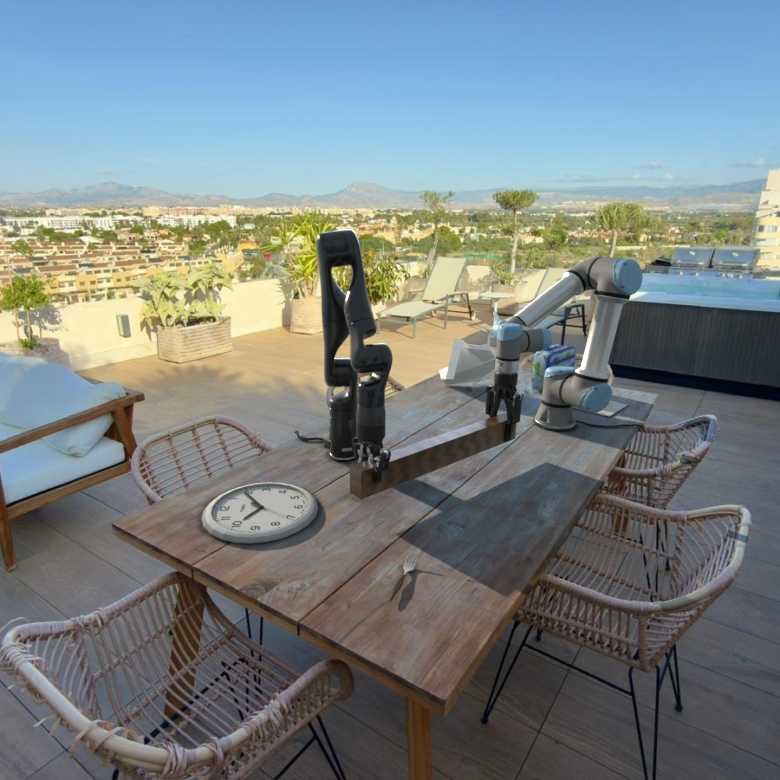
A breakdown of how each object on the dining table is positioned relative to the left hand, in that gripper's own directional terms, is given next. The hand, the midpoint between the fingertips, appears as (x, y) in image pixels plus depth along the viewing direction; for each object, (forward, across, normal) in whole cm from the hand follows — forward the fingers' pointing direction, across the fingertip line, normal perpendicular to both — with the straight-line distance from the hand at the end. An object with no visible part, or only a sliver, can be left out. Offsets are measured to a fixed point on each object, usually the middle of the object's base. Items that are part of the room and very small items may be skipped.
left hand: (370, 479), depth 140 cm
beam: (+3, 0, +28) cm, 28 cm away
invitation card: (+8, -2, +130) cm, 131 cm away
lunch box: (+8, -31, +136) cm, 139 cm away
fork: (+8, +29, -14) cm, 33 cm away
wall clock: (+8, -16, -24) cm, 30 cm away
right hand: (+3, 0, +56) cm, 56 cm away
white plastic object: (+8, -49, +104) cm, 115 cm away
